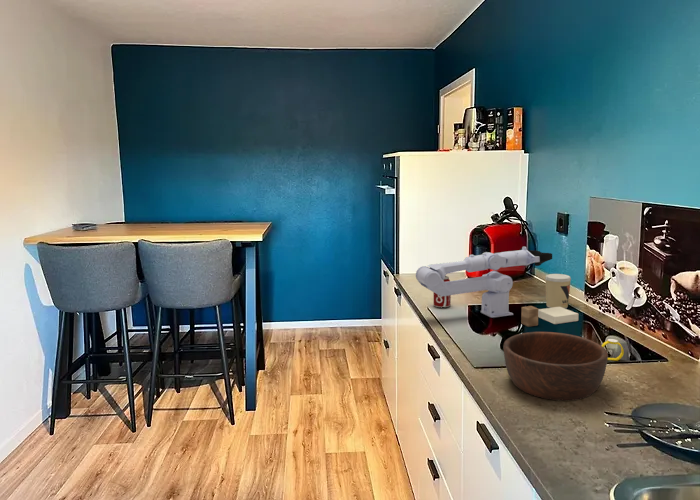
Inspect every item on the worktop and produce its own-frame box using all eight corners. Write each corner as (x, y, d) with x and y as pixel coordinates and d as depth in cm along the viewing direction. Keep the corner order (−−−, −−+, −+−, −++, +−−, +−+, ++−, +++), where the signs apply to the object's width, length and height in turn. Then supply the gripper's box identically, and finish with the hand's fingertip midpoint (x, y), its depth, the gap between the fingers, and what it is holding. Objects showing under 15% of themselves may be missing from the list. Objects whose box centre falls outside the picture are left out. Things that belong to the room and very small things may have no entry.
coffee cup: (566, 310, 199) (567, 280, 197) (541, 307, 205) (541, 277, 203) (572, 305, 206) (574, 275, 204) (548, 301, 212) (549, 272, 210)
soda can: (449, 304, 213) (449, 275, 211) (451, 308, 207) (451, 279, 205) (433, 304, 214) (432, 275, 212) (434, 308, 207) (433, 279, 205)
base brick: (554, 325, 184) (554, 317, 184) (536, 317, 194) (536, 309, 193) (578, 321, 187) (578, 313, 187) (559, 314, 197) (559, 306, 196)
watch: (620, 359, 152) (623, 339, 151) (623, 363, 150) (626, 343, 148) (598, 356, 154) (601, 337, 152) (600, 360, 151) (603, 340, 150)
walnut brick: (528, 326, 183) (528, 310, 182) (521, 323, 186) (521, 307, 185) (537, 325, 184) (538, 308, 183) (530, 322, 187) (531, 305, 186)
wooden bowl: (541, 414, 122) (542, 372, 120) (484, 373, 145) (485, 337, 143) (629, 397, 128) (631, 357, 127) (561, 360, 152) (562, 326, 150)
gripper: (523, 249, 189) (557, 246, 192) (502, 246, 203) (534, 242, 206) (524, 269, 189) (557, 265, 192) (503, 264, 203) (534, 260, 207)
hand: (545, 255), depth 199 cm, fingers open, 7 cm apart
